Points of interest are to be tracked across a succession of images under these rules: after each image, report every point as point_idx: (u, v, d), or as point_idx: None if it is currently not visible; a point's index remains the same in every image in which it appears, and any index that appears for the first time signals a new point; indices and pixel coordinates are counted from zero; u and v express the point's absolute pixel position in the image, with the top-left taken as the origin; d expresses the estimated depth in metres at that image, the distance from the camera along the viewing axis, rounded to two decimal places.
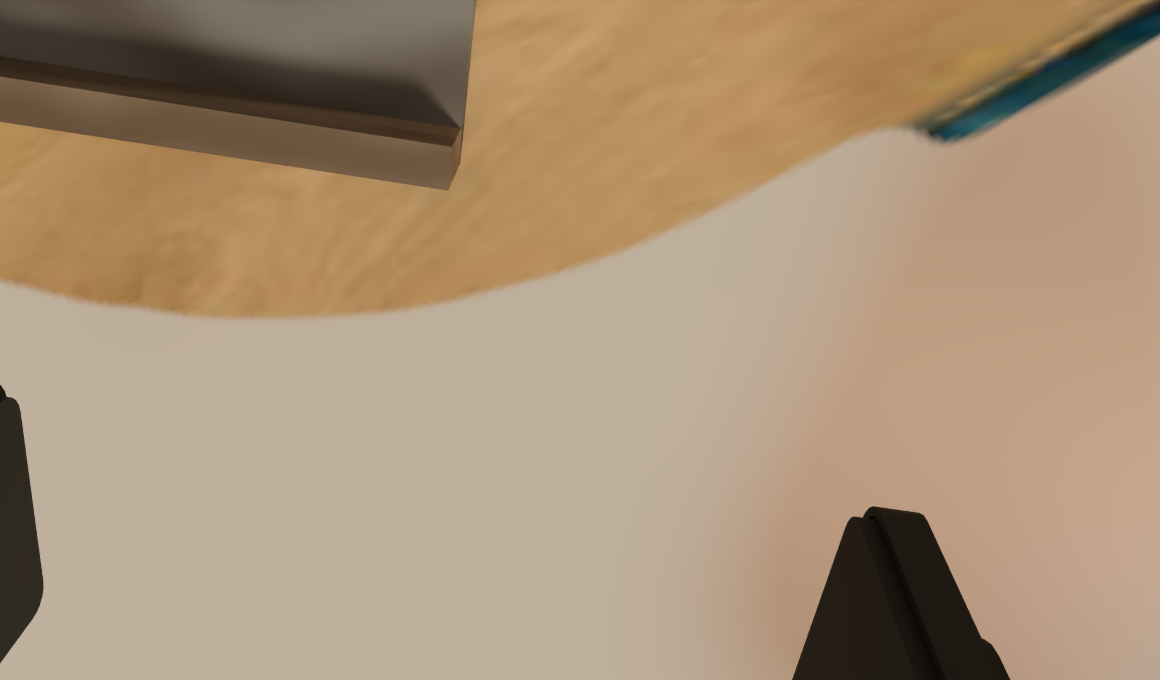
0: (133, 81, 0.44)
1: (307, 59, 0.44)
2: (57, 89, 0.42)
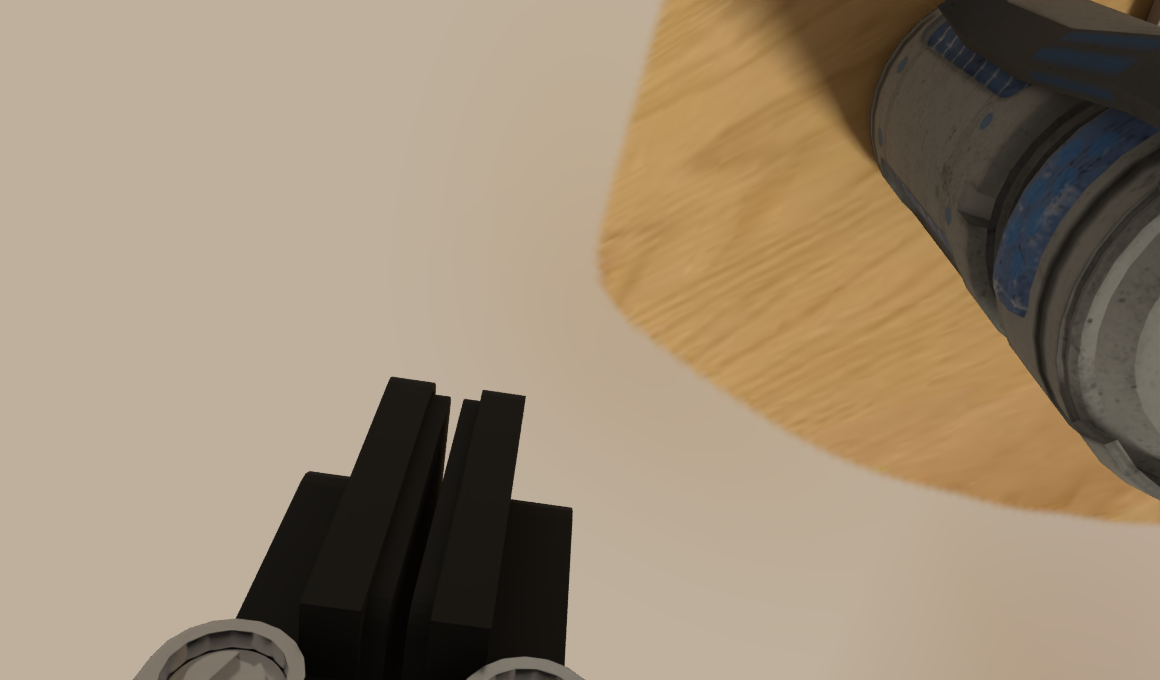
0: None
1: None
2: None
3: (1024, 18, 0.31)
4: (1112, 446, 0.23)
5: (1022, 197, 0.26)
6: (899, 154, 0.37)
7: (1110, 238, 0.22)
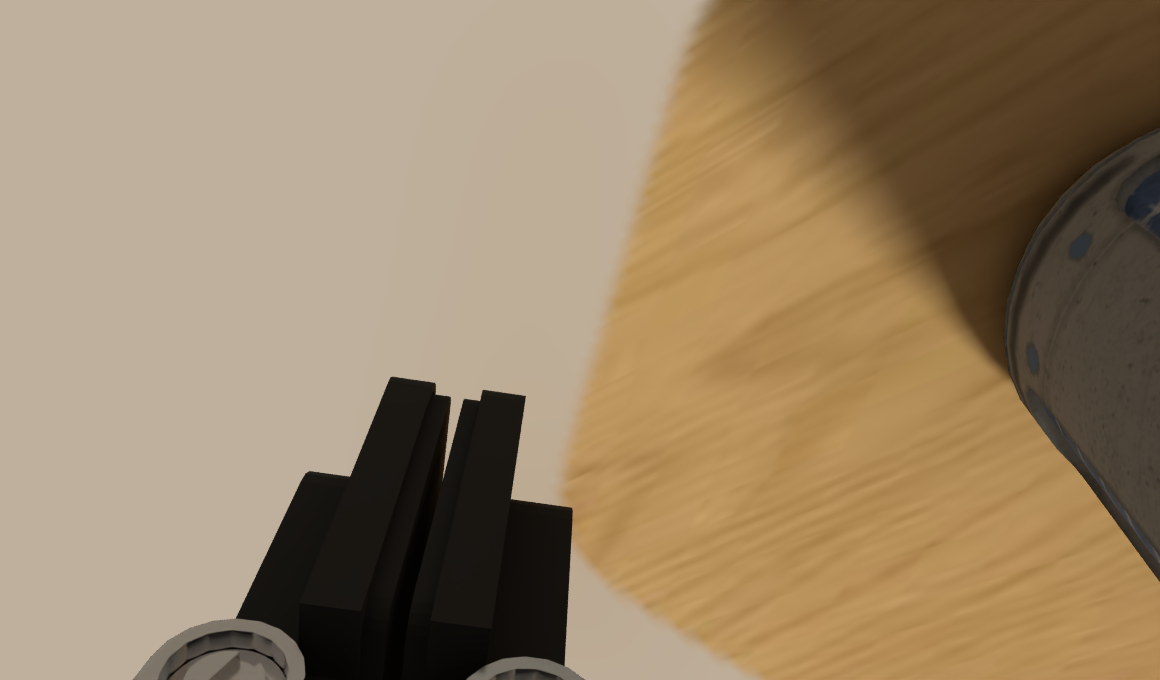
0: None
1: None
2: None
3: None
4: None
5: None
6: (1090, 419, 0.20)
7: None
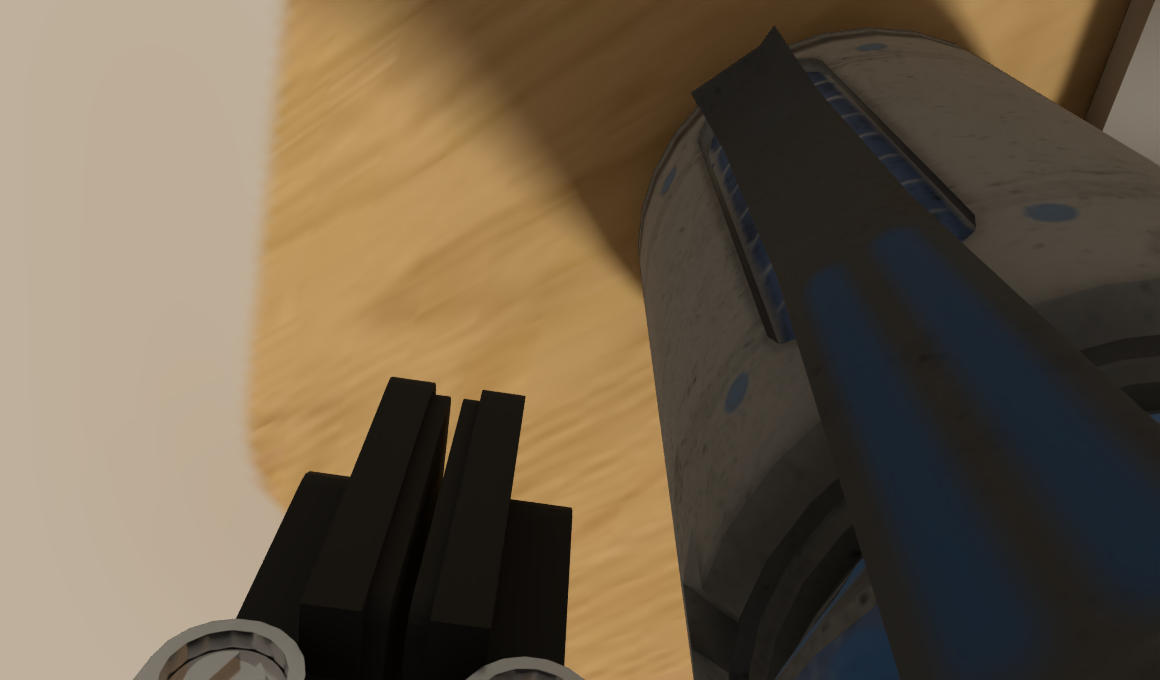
0: None
1: None
2: None
3: (828, 145, 0.14)
4: None
5: None
6: None
7: None
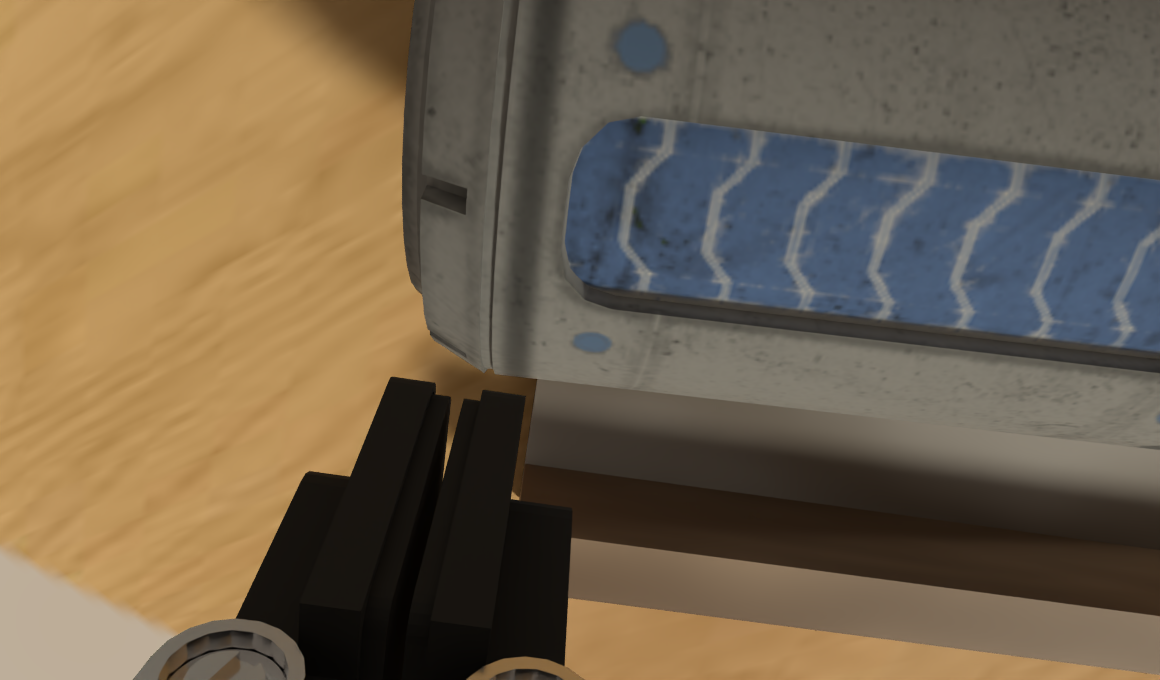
0: (781, 514, 0.27)
1: (1057, 475, 0.27)
2: (707, 561, 0.25)
3: None
4: None
5: None
6: (871, 60, 0.13)
7: None
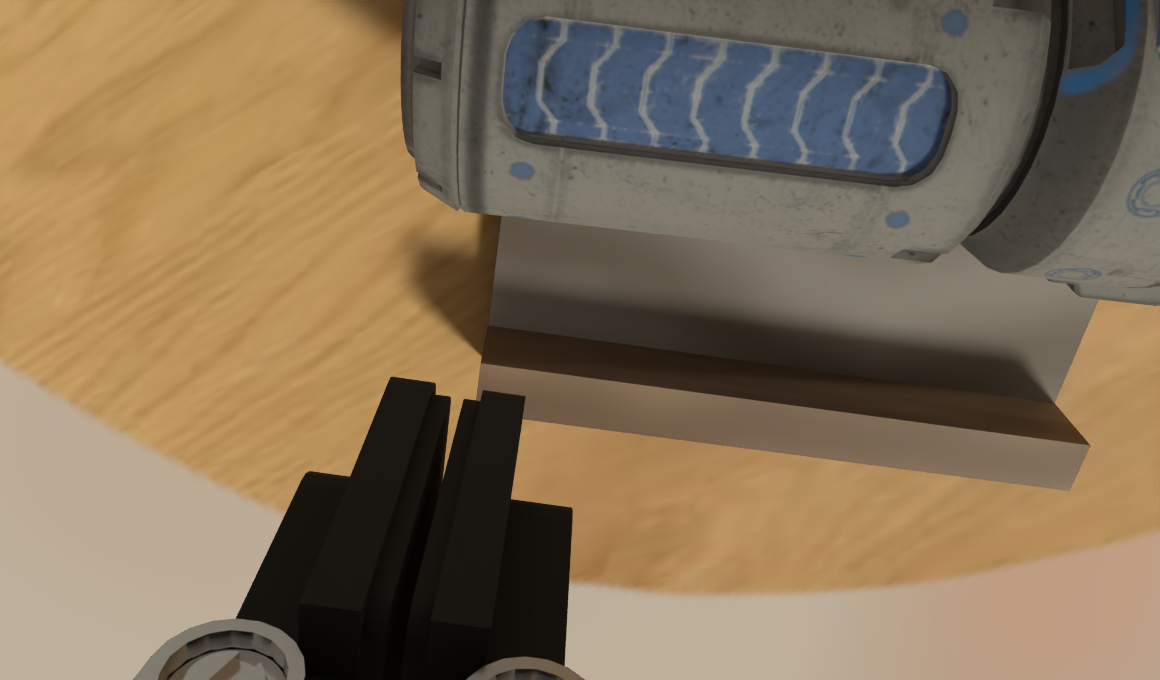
0: (682, 361, 0.36)
1: (890, 331, 0.36)
2: (623, 387, 0.34)
3: None
4: None
5: None
6: None
7: None
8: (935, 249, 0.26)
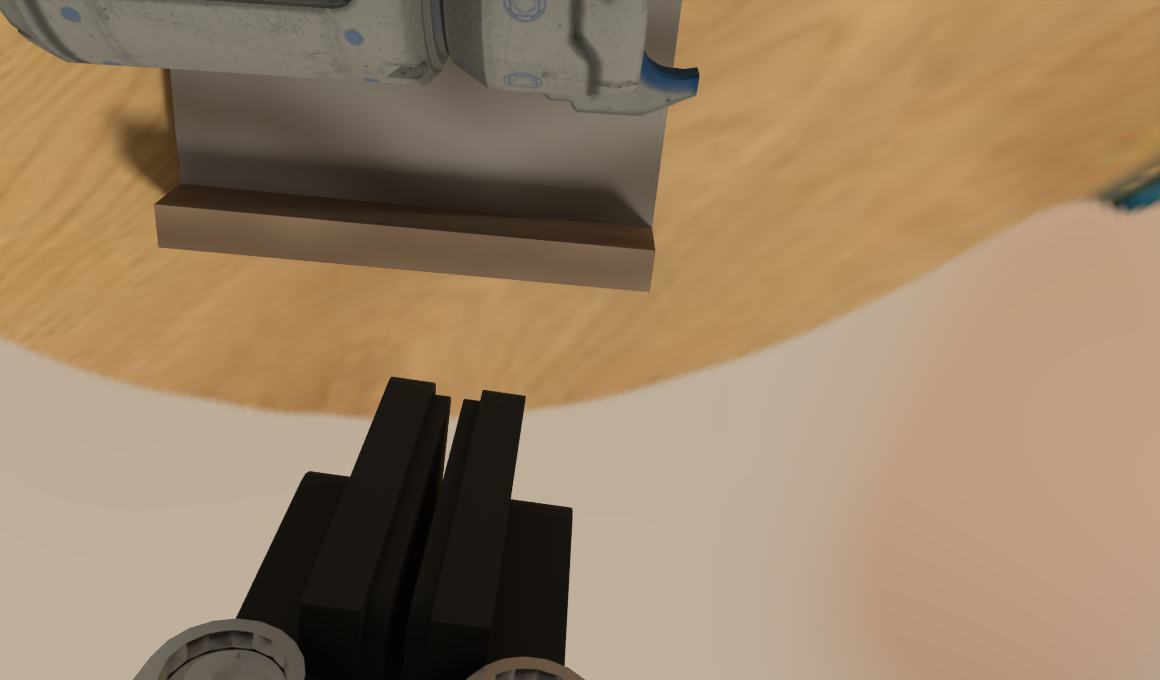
0: (333, 203, 0.45)
1: (502, 171, 0.45)
2: (269, 219, 0.43)
3: None
4: None
5: None
6: None
7: None
8: (402, 63, 0.34)
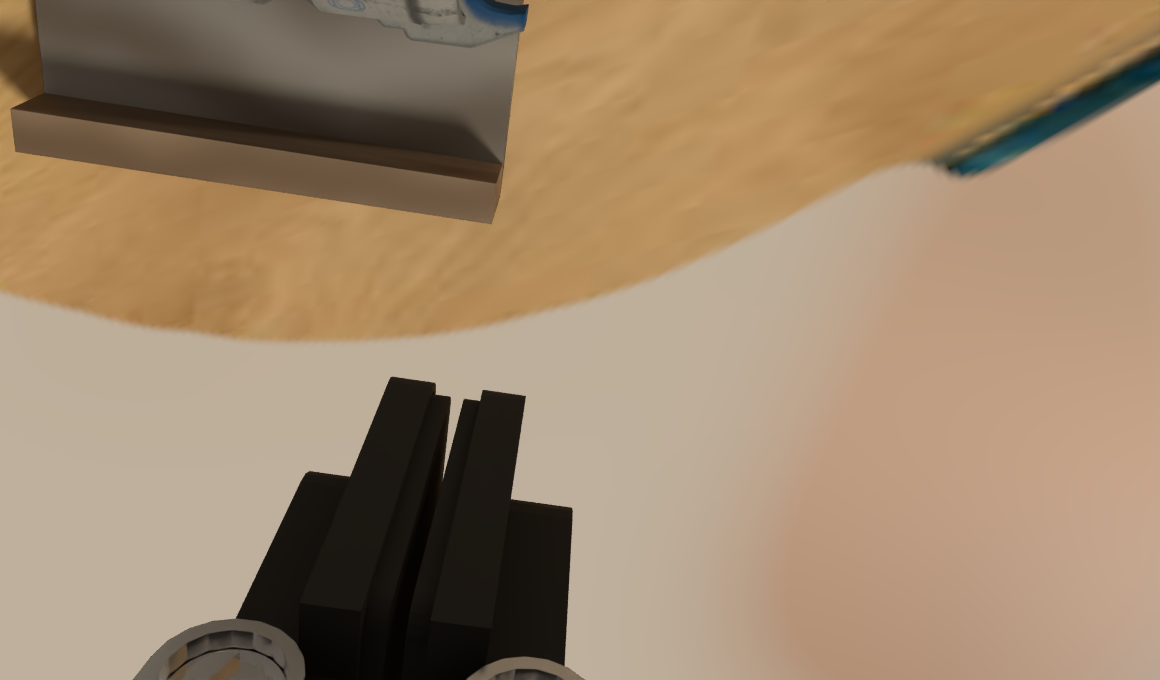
0: (192, 120, 0.46)
1: (357, 99, 0.46)
2: (123, 130, 0.44)
3: None
4: None
5: None
6: None
7: None
8: None
